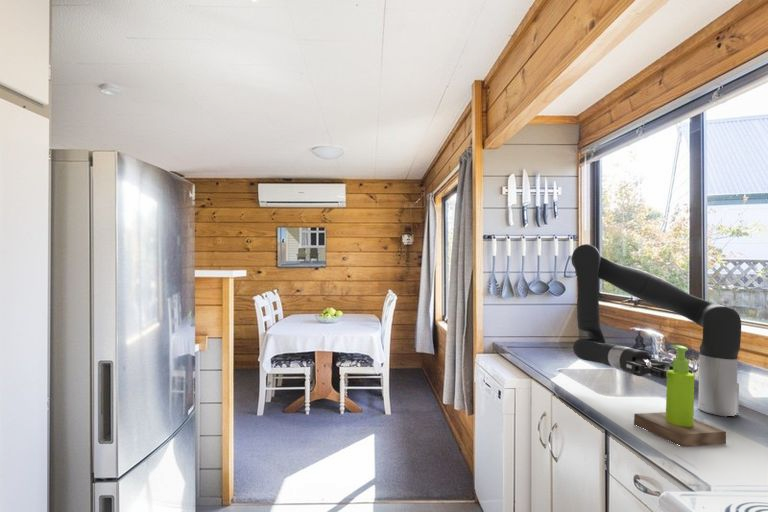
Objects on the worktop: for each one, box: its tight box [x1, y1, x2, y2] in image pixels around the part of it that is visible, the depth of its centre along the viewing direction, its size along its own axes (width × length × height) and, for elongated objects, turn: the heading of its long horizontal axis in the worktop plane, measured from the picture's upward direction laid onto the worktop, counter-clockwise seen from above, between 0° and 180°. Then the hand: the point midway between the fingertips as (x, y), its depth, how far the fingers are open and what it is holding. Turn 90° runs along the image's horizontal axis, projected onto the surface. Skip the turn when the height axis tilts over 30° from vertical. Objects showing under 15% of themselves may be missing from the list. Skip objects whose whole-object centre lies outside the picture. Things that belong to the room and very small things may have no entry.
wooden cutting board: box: [633, 411, 727, 447], centre depth 109 cm, size 14×14×3 cm
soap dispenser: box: [665, 344, 695, 427], centre depth 109 cm, size 6×7×20 cm
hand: (678, 374), depth 110 cm, fingers open, 8 cm apart
